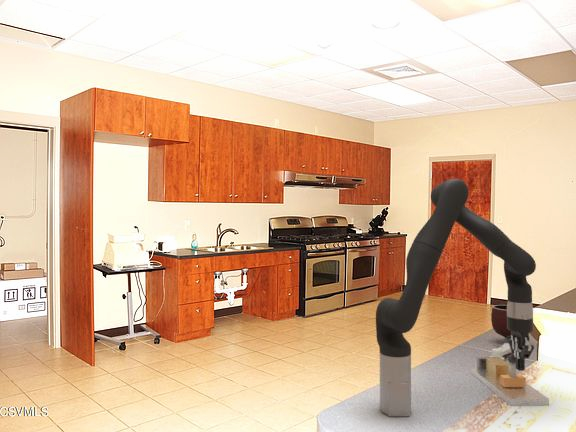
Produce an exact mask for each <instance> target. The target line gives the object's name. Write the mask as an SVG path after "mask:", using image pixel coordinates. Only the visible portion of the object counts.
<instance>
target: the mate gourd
mask: <svg viewBox="0 0 576 432" xmlns="http://www.w3.org/2000/svg"><path fill="white" fill-rule="evenodd" d="M490 315H491V316H490V321H491V326H492V329H493V330H494V331H495V333H496V334H497V335H499V336H501V337H504V338H503V340H494V341H493V343H492V344H493V346H494V347H496V348H500V347H501V346H502V345H503V344H504V343H509V342H508V339H507V336H511V331H510V330H508V329H507V304H496V305H492V308H491V313H490Z"/></svg>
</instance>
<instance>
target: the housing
mask: <svg viewBox="0 0 576 432" xmlns="http://www.w3.org/2000/svg"><path fill="white" fill-rule="evenodd" d="M486 372H487V373H488V374H489V375H491V376H492V377H493V378H494V379H496V380H500V375H509V362H508V361H507V362H506V361H505V359H504V360H502V359H501V358H486Z"/></svg>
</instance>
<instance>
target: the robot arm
mask: <svg viewBox="0 0 576 432" xmlns="http://www.w3.org/2000/svg"><path fill="white" fill-rule="evenodd" d="M468 198H469V187H468V184H467V183H466V182H465V181H464V180H463V179H460V178H450V179H448V180H445V181H443V182H441V183H439V184H437V185H435V186H434V187H433V188H432V190H431V192H430V200H431V203H432V204H433V206H434V207H435V208H434V211H433V212H432V215H431V216H430V217H429V219H428V220H427V221H426V222H425V223H424V225H423V227H422V228H421V229H420V230H419V232H418V233H417V234H416V236H415V238H414V240H413V241H412V243H411V245H410V248H409V250H408V253H407V255H406V261H405V266H406V268H405V269H406V282H405V286H404V288H403V291H402V293H401V296H400V297H399V299H396V298H393V297H386V298H383V299H382V300H380V302H378V305H377V307H376V310H375V311H376V312H375V329H376V331H375V333H376V334H375V335H376V342H377V344H378V347H379V410H380V411H381V412H382V413H383V414H385V415H387V417H410V416H411V413H412V345H411V344H410V342H409V341H408V340H407V339H406V338H405V336H404V334H406V333H408V332H410V331H411V330H412V329H413V328H414V326H415V324H416V323H417V320H418V317H419V315H420V314H419V313H420V311H421V308H422V304H423V301H424V298H425V294H426V293H427V292H426V291H427V289H428V287H429V285H430V282H431V279H432V277H433V275H434V272H435V270H436V268H437V265H438V264H439V261H440V259H441V257H442V255H443V251H444V249H445V246H446V244H447V242H448V239H449V238H450V235H451V232H452V229H453V227H454V224H455V223H457V224H458V225H460V226H461V227H462V228H463V229H465V230H466V231H468V232H469V233H470V234H471V235H472V236H473V237H474V238H476V239H477V240H478V241H479V242H480V244H482V245H483V246H484V247H485V248H486V249H487V250H488V251H489V252H490V253H491V254H492V255H493V256H495V257H498V258H500V259H501V260H502V261H503V272H504V277H505V282H506V285H507V286H506V287H507V304H506V305H507V329H508V330H510V331H511V336H507V339H508V342H509V345H510V349H511V352H512V353H511V354H513V355H514V356H515V357H516V371H520V372H523V371H526V370H525V369H526V367H525V365H526V361H525V360H526V359H529V358H530V357H531V355H532V354H533V351H534V349H535V346H534V345H533V344H532V345H531V344H530V340H531V339H530V336H529V334H530V333H533V331H534V306H533V288H532V286H531V284H530V283H529V282H528V280H527V279H528V278H527V277H528V276H530V275H532V274H533V273H535V271H536V268H537V264H536V260H535V259H534V257H533V256H532V255H531V254H530V253H528V252H527V250H525V249H524V248H522V247H521V246H519V245H518V244H516V243H515V242H514V241H512V239H511V238H510V237H508V235H506V234H505V233H504V231H502V229H501V228H499V227H498V226H497V225H495V224H494V223H493V222H491V221H490V220H487V219H486V218H485V217H482V216H481V215H478V214H477V213H475V212H474V211H472V210H471V209H470V208H468V206H466V203H467V202H468V200H469V199H468Z"/></svg>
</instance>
